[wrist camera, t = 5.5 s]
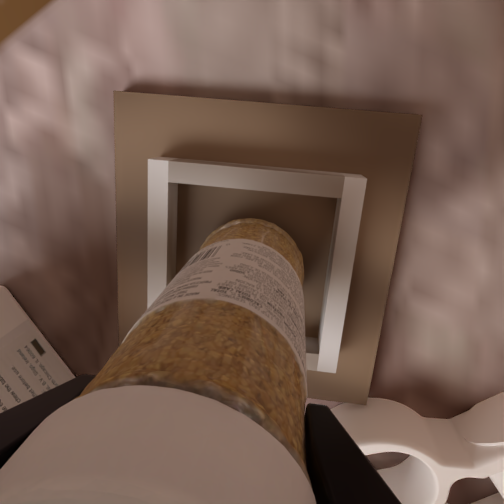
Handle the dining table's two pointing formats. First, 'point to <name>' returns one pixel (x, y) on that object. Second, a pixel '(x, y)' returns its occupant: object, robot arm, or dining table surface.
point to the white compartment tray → (431, 446)
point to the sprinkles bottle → (190, 392)
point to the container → (25, 357)
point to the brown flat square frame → (268, 209)
